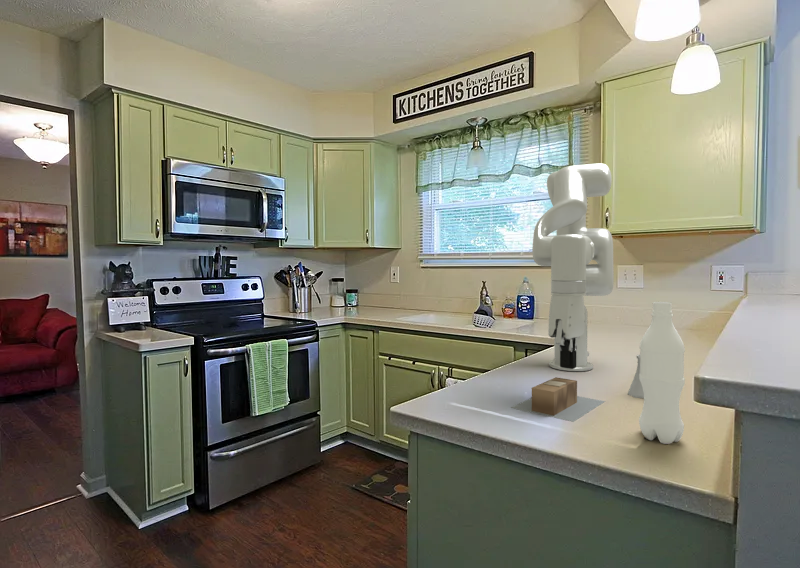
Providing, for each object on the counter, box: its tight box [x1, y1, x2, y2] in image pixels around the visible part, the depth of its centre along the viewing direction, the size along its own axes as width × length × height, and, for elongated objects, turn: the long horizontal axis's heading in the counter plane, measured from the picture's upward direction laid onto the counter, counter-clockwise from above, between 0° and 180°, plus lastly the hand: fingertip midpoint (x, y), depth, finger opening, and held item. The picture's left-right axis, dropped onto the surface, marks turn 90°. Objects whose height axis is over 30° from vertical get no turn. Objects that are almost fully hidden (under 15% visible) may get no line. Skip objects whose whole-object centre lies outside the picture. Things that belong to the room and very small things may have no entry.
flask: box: [627, 354, 644, 400], centre depth 111 cm, size 7×7×10 cm
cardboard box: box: [531, 376, 578, 416], centre depth 103 cm, size 5×5×12 cm
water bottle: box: [638, 301, 686, 445], centre depth 84 cm, size 7×7×25 cm
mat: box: [510, 395, 606, 423], centre depth 104 cm, size 18×14×1 cm
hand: (568, 367), depth 108 cm, fingers closed
